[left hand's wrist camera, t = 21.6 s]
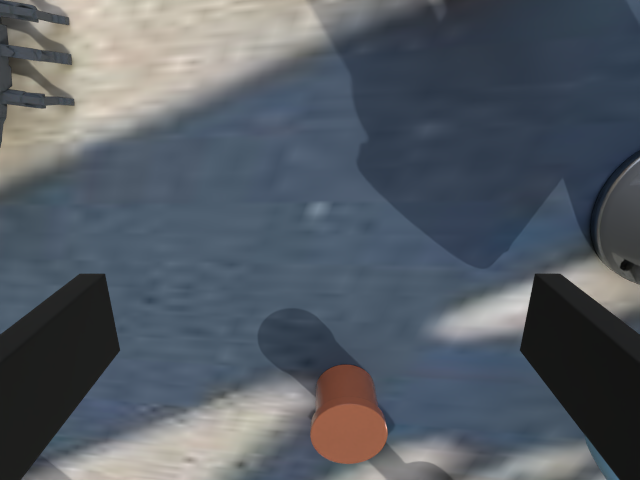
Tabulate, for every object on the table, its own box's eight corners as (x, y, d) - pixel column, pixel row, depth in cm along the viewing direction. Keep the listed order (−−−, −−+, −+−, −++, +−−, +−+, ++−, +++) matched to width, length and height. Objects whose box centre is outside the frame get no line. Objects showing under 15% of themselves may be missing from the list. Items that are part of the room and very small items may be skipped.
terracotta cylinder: (380, 360, 48) (389, 404, 41) (377, 415, 50) (385, 464, 44) (311, 360, 48) (310, 404, 41) (311, 415, 50) (310, 464, 44)
